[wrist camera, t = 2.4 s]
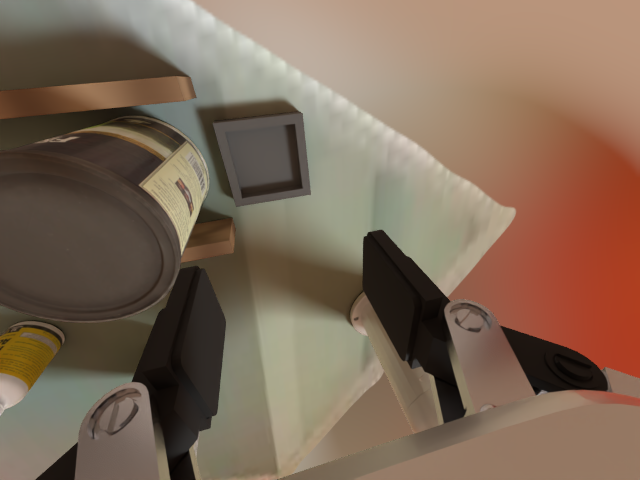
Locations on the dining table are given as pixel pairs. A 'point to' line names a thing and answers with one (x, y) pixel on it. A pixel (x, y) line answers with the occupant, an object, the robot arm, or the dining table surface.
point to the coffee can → (97, 219)
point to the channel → (115, 94)
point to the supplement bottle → (25, 358)
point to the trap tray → (264, 157)
